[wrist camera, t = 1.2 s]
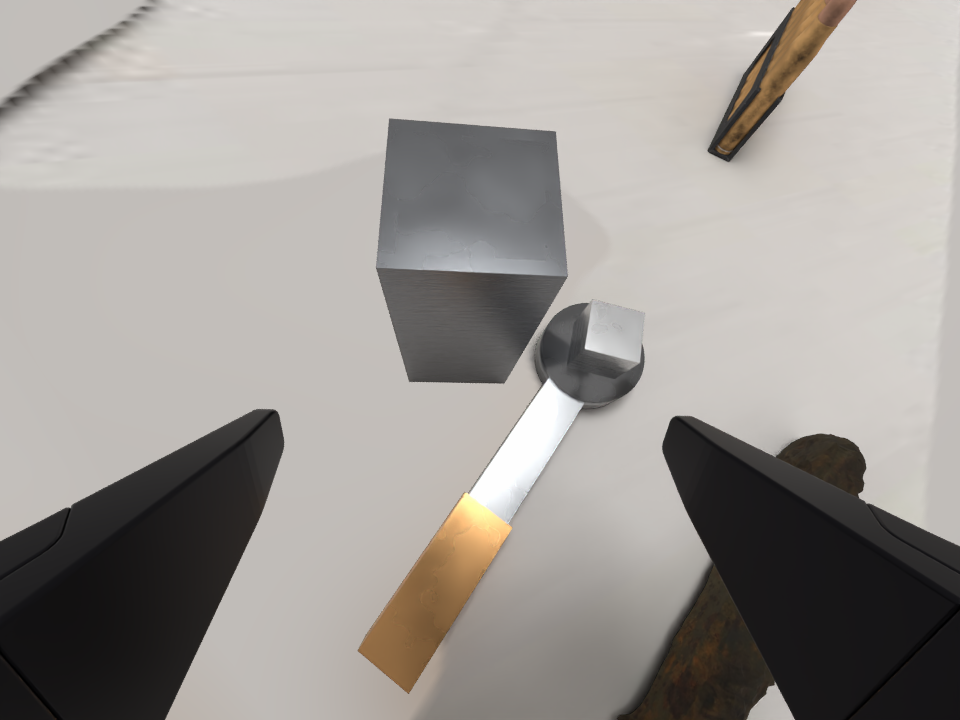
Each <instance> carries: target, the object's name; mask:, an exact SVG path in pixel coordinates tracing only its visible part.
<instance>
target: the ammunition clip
mask: <svg viewBox="0 0 960 720" xmlns="http://www.w3.org/2000/svg"><path fill="white" fill-rule="evenodd" d="M856 1H857V0H801V1H800V2H799V3H798V5H797V6H796V8H794V7H793V8H792V9H791V10H790V12H789V13H788V15H787V16H786V17H785V19H784V20H783V21H782V23H781V24H780V25H779V27H778V28H777V30H776V31H775V32H774V34H773V35H772V36H771V38H770V39H769V41H768V42H767V43H766V45H765V46H764V47H763V49H762V50H761V51H760V53H759V54H758V56H757V57H756V58H755V60H754V61H753V62H752V64H751V65H750V67H749V68H748V69H747V71H746V72H745V73H744V75H743V77H742V79H741V82H740V84H739V86H738V88H737V90H736V92H735V94H734V96H733V98H732V100H731V103H730V105H729V107H728V109H727V111H726V113H725V115H724V117H723V119H722V122H721V124H720V126H719V128H718V130H717V132H716V134H715V136H714V138H713V140H712V143H711V145H710V147H709V149H708V152H710V153H712V154H714V155H716V156H718V157H720V158H722V159H724V160H726V161H730V160H731V159H732V158H733V157H734V155H735V154H736V153H737V152H738V151H739V150H740V148H741V147H742V146H743V145H744V144H745V143H746V141H747V140H748V139H749V138H750V137H751V136H752V134H753V133H754V132H755V131H756V130H757V129H758V127H759V126H760V125H761V124H762V123H763V122H764V120H765V119H766V118H767V117H768V116H769V115H770V114H771V112H772V111H773V110H774V109H775V108H776V107H777V105H778V104H779V103H780V102H781V101H782V99H783V96H784V94H785V91H786V90H787V89H788V88H789V87H790V85H791V84H792V83H793V82H794V81H795V80H796V78H797V77H798V76H799V75H800V74H801V73H802V71H803V70H804V69H805V68H806V67H807V65H808V64H809V63H810V62H811V61H812V60H813V58H814V57H815V56H816V55H817V53H818V52H819V50H820V49H821V47H822V45H823V44H824V42H825V41H826V39H827V38H828V37H829V36H830V34H831V33H832V32H833V31H834V29H835V28H836V27H837V25H838V24H839V22H840V21H841V20H842V19H843V18H844V16H845V15H846V14H847V13H848V12H849V10H850V9H851V8H852V6H853V5H854V4H855V2H856Z"/></svg>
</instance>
